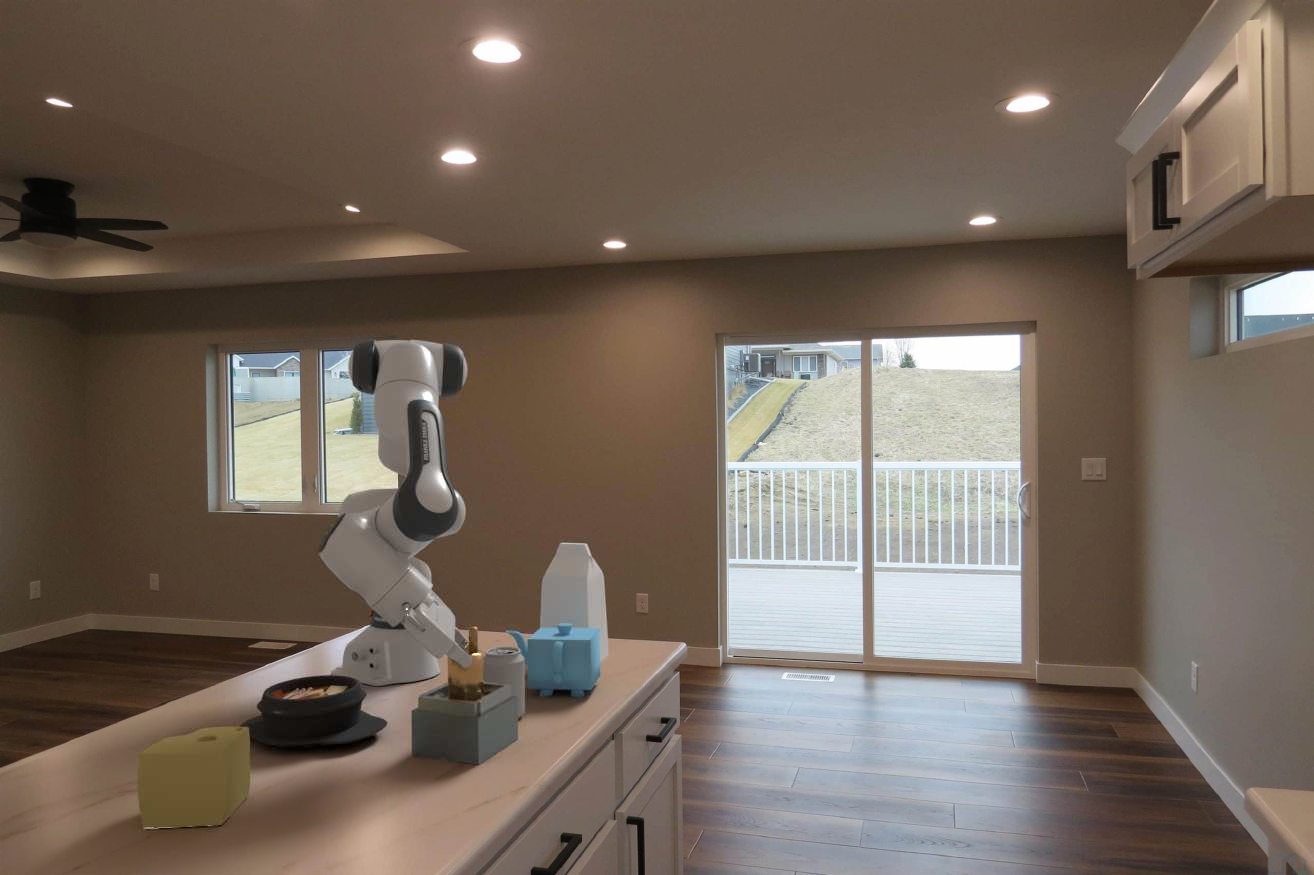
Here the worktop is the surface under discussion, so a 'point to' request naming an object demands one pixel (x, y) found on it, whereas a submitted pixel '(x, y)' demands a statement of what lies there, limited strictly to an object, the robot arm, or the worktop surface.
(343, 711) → the casserole
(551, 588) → the milk
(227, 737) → the cheese
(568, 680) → the teapot
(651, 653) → the worktop surface
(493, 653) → the can
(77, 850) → the worktop surface
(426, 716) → the grey square box
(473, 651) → the spout can
